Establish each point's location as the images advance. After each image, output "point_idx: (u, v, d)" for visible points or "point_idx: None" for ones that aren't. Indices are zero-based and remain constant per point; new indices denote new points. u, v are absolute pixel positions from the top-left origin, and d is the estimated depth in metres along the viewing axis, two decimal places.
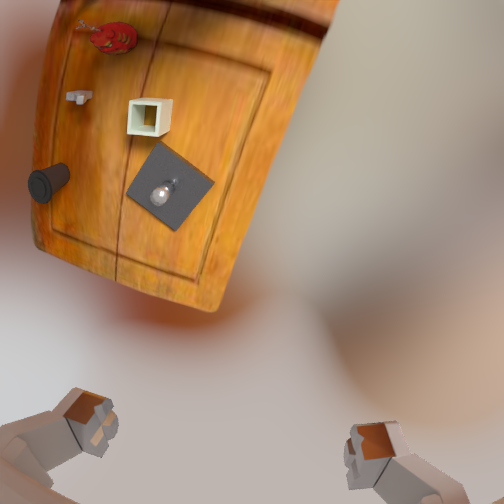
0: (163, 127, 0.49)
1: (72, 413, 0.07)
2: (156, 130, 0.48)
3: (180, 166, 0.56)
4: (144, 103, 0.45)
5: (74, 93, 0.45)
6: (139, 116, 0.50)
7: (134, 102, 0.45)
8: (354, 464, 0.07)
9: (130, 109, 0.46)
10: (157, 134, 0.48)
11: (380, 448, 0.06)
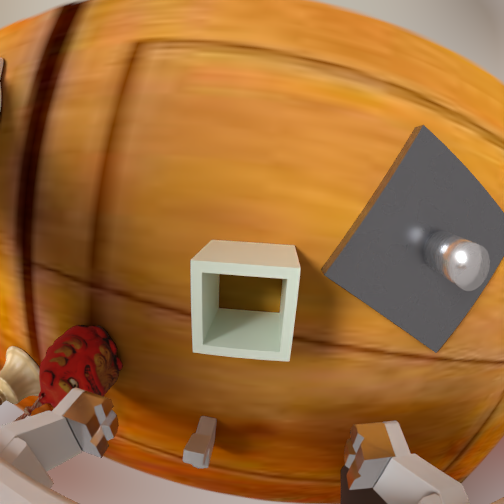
0: (277, 256, 0.19)
1: (72, 413, 0.07)
2: (280, 274, 0.17)
3: (387, 210, 0.20)
4: (198, 311, 0.18)
5: None
6: (250, 324, 0.22)
7: (197, 339, 0.19)
8: (354, 464, 0.07)
9: (217, 350, 0.19)
10: (293, 270, 0.17)
11: (380, 448, 0.06)
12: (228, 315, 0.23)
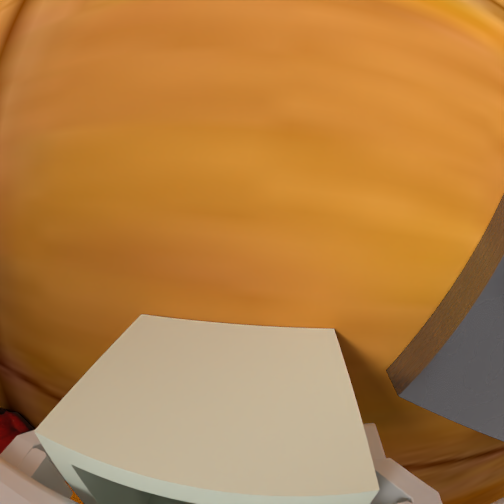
0: (297, 407, 0.06)
1: None
2: None
3: None
4: None
5: None
6: None
7: None
8: None
9: None
10: (353, 498, 0.03)
11: None
12: None
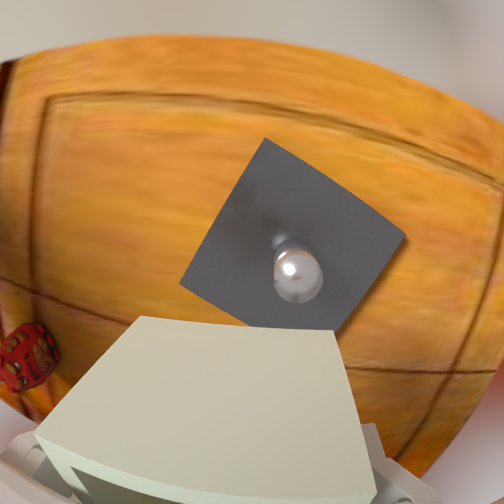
0: (295, 409, 0.06)
1: None
2: None
3: (228, 225, 0.24)
4: None
5: None
6: None
7: None
8: None
9: None
10: (351, 500, 0.03)
11: None
12: None
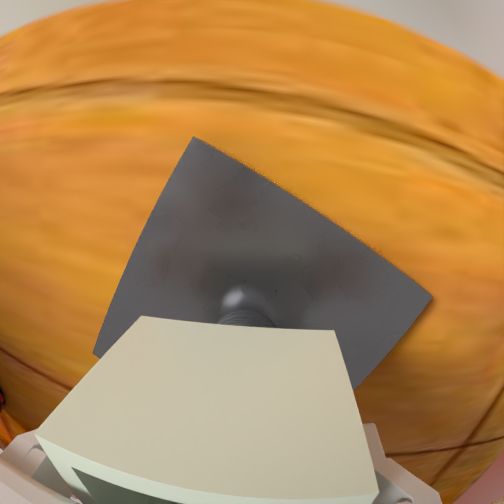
0: (297, 409, 0.06)
1: None
2: None
3: (143, 282, 0.14)
4: None
5: None
6: None
7: None
8: None
9: None
10: (353, 500, 0.03)
11: None
12: None
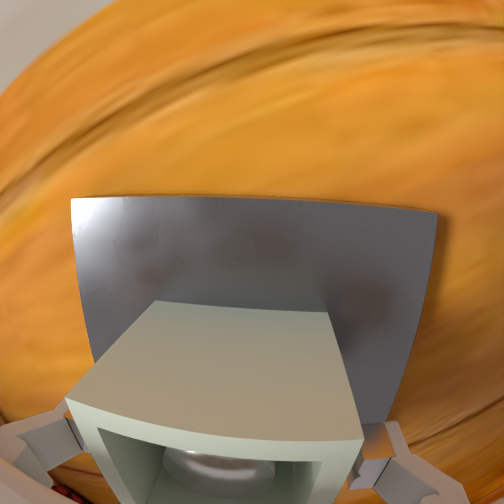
0: (294, 372, 0.07)
1: None
2: (303, 455, 0.05)
3: None
4: (116, 478, 0.06)
5: None
6: None
7: None
8: (354, 464, 0.07)
9: None
10: (342, 446, 0.05)
11: (380, 448, 0.06)
12: None
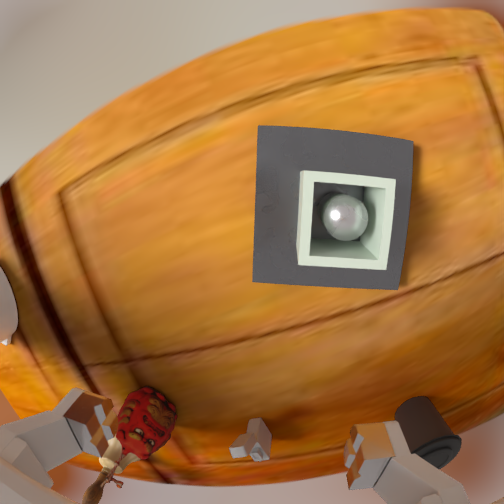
0: None
1: (72, 414, 0.07)
2: (380, 183, 0.18)
3: (268, 210, 0.26)
4: (307, 220, 0.20)
5: None
6: (341, 246, 0.23)
7: (304, 249, 0.20)
8: (354, 464, 0.07)
9: (323, 260, 0.20)
10: (390, 181, 0.18)
11: (380, 448, 0.06)
12: (317, 241, 0.25)
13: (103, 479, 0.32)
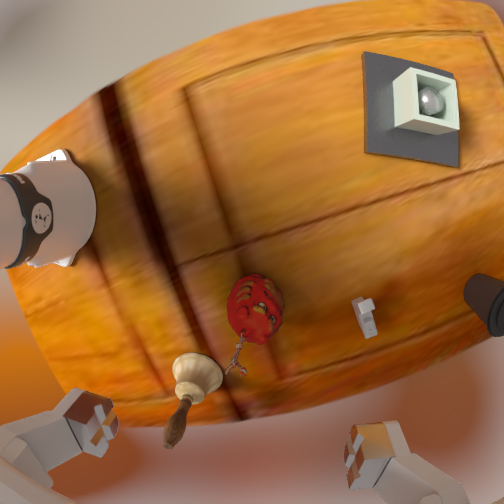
0: None
1: (72, 414, 0.07)
2: (448, 80, 0.24)
3: (375, 102, 0.32)
4: (415, 93, 0.25)
5: (363, 325, 0.36)
6: None
7: (416, 110, 0.26)
8: (354, 464, 0.07)
9: (426, 118, 0.26)
10: (453, 80, 0.24)
11: (380, 448, 0.06)
12: None
13: (186, 407, 0.36)
